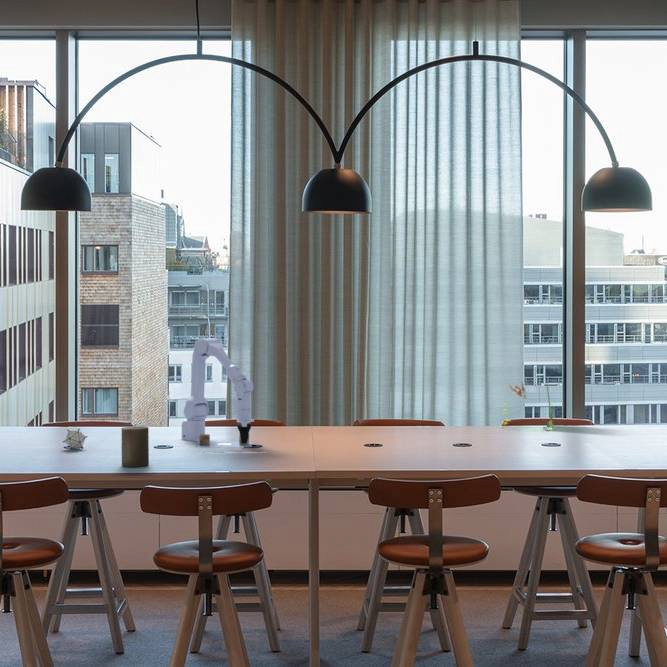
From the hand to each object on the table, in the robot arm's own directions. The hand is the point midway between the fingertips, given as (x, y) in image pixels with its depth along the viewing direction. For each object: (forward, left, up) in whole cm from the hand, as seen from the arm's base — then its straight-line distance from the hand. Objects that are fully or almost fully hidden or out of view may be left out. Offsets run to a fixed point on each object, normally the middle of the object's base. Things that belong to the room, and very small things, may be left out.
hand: (244, 442), depth 433 cm
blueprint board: (-7, -4, -1) cm, 8 cm away
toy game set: (+88, +108, -2) cm, 140 cm away
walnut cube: (-14, -8, -1) cm, 16 cm away
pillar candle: (-11, -60, -2) cm, 61 cm away
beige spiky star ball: (-56, -37, -2) cm, 67 cm away
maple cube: (0, 0, -1) cm, 1 cm away
